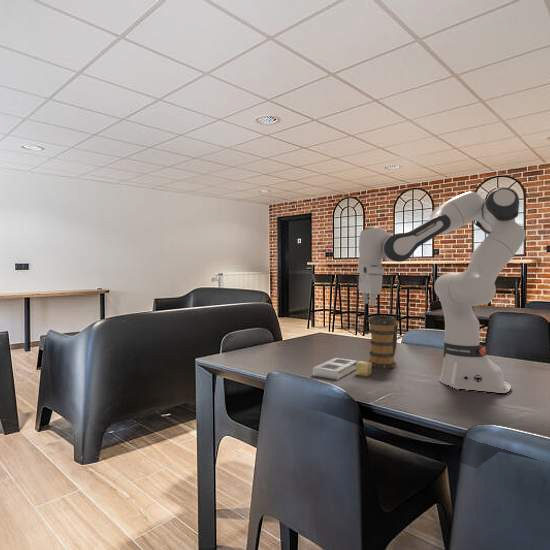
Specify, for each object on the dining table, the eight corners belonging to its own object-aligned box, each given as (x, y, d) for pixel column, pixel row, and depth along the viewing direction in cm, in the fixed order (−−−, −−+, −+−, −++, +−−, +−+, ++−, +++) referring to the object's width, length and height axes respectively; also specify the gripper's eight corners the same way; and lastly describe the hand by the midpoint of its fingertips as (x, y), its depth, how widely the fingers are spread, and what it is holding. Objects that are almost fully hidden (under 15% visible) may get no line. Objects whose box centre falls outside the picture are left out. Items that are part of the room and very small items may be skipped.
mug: (359, 365, 170) (360, 317, 170) (383, 359, 181) (384, 314, 181) (386, 371, 160) (386, 320, 160) (409, 364, 172) (410, 317, 171)
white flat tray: (358, 368, 165) (358, 360, 164) (337, 379, 148) (337, 371, 148) (335, 364, 170) (335, 357, 170) (312, 375, 153) (312, 367, 153)
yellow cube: (371, 373, 157) (371, 362, 156) (367, 376, 153) (367, 364, 153) (360, 372, 159) (360, 360, 159) (355, 374, 155) (356, 362, 155)
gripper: (355, 268, 168) (354, 301, 168) (368, 269, 148) (367, 307, 148) (370, 268, 168) (369, 302, 169) (385, 269, 148) (384, 307, 148)
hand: (368, 304), depth 158 cm, fingers open, 8 cm apart
